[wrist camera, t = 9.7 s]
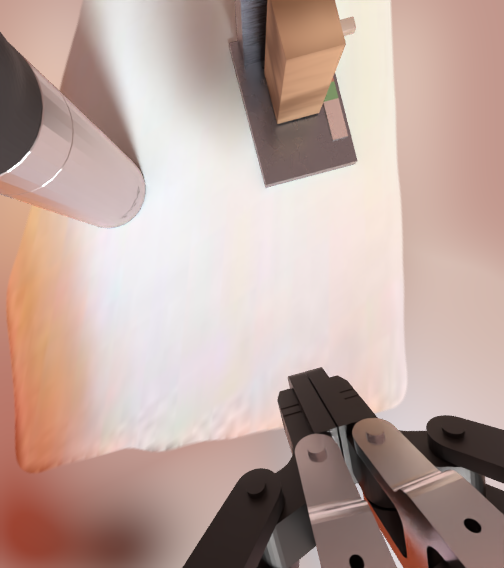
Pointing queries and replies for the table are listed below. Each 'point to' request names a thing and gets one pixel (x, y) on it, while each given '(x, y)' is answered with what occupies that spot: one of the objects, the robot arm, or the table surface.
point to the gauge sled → (302, 54)
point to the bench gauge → (292, 134)
